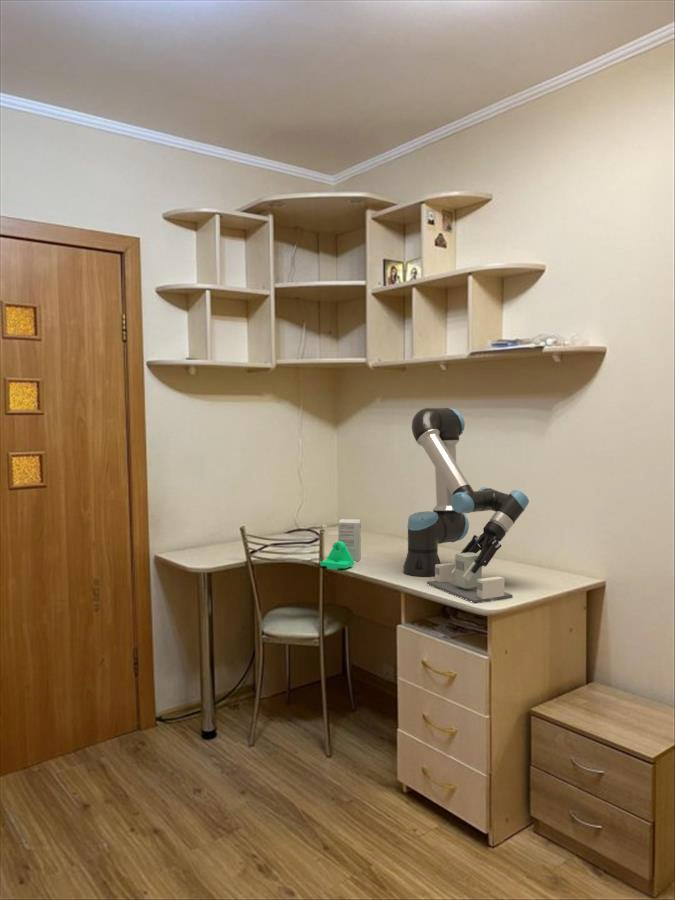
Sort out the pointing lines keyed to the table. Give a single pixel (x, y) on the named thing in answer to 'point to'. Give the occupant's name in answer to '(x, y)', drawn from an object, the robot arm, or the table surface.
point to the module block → (462, 566)
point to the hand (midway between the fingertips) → (459, 576)
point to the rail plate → (483, 591)
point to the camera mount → (338, 557)
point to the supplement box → (351, 536)
